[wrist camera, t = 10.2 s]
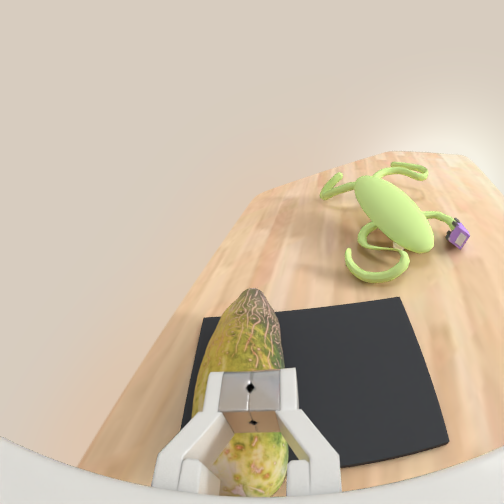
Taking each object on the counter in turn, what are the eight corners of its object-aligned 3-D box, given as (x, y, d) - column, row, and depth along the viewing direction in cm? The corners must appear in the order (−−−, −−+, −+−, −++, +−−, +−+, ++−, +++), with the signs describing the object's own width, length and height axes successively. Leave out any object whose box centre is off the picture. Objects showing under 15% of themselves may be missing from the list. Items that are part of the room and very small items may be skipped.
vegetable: (150, 481, 11) (209, 278, 29) (197, 519, 13) (226, 330, 32) (283, 481, 10) (273, 266, 28) (298, 517, 13) (284, 321, 31)
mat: (175, 469, 19) (173, 467, 18) (205, 321, 32) (203, 317, 31) (447, 444, 16) (449, 441, 16) (398, 300, 29) (399, 296, 29)
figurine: (412, 182, 51) (413, 153, 48) (491, 269, 29) (502, 229, 26) (316, 191, 54) (314, 161, 50) (351, 293, 31) (352, 248, 28)
